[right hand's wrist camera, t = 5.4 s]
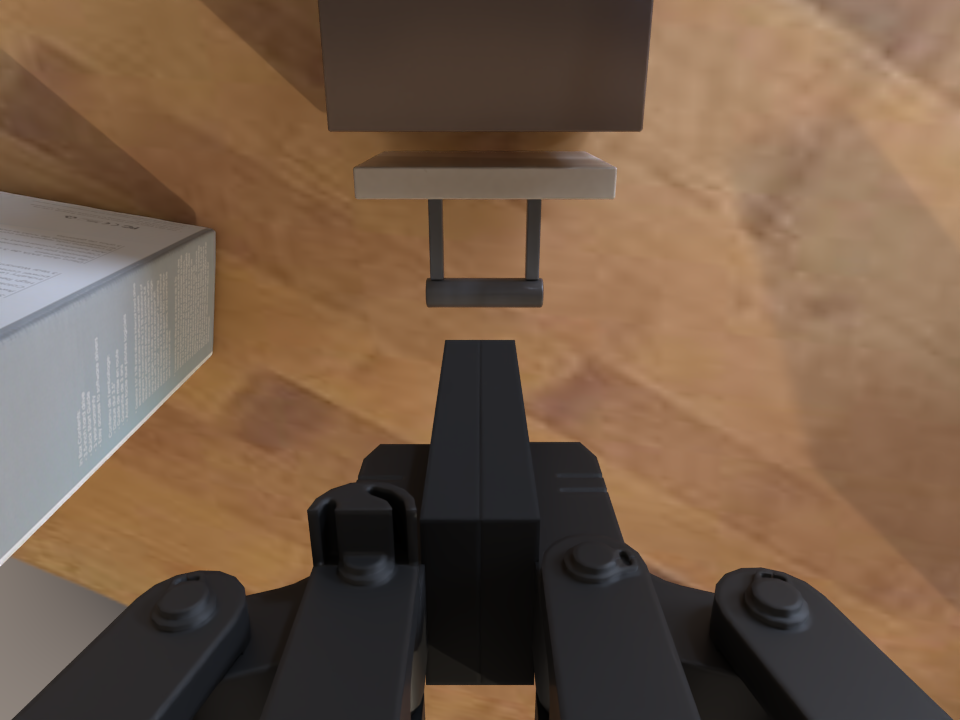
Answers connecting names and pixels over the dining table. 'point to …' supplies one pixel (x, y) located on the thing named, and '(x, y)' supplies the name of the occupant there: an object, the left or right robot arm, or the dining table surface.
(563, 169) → the drawer
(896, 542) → the dining table surface
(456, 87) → the cabinet
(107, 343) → the hard drive box
